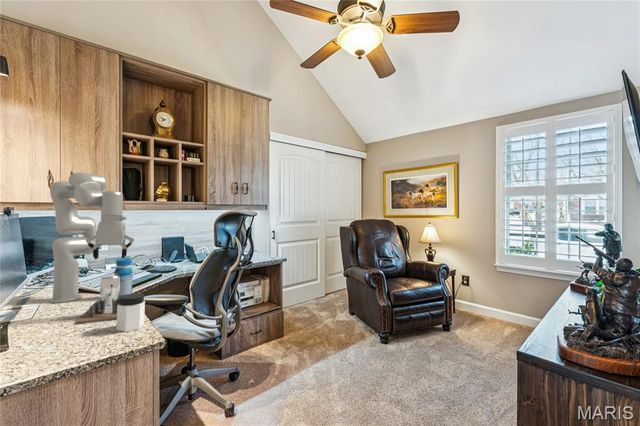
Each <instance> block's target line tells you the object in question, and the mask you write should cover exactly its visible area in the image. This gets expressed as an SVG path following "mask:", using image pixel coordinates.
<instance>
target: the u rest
mask: <svg viewBox="0 0 640 426" xmlns="http://www.w3.org/2000/svg"><path fill="white" fill-rule="evenodd" d="M118 300H119V299H118ZM118 300H117V305H119V302H118ZM101 308H102V300H101V299H98V300H96V301H95V302H93V304H92V305H91V306H89V308H88V309H87V310H86V312H84V313H83V314H82V315H81V316H80V317H79V318H78V319H76V321H75V322H74V323H75V325H81V324H89V323H101V322H108V321H117V312H115V313H111V314H101Z"/></svg>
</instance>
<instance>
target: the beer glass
mask: <svg viewBox="0 0 640 426" xmlns="http://www.w3.org/2000/svg"><path fill="white" fill-rule="evenodd" d="M99 286H100V287H99V293H100V298H101V299H100V300H102V308H101V314H111V313H115V312H117V300H118V295H119V291H120V276H115V275H108V276H102V277H101V278H100V285H99Z"/></svg>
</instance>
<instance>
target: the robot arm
mask: <svg viewBox="0 0 640 426" xmlns="http://www.w3.org/2000/svg"><path fill="white" fill-rule="evenodd" d="M106 187H107V180H106V179H105V177H104V176H102V175H100V174H96V173H88V172H74V173H72V174H70V175H69V177H68V181H65V180H63V181H62V180H61V181H55V182H53V183H52V184H51V185H50V191H49V193H50V194H49V195H50V199H51V202H52V203H53V206H54V209H55V211H54V213H55V229H56V233H58V234H59V235H63V236H64V235H67V237H66V236H65V237H60V238H56V239H55V240H54V241H53V242H52V248H51V249H52V254H53V281H52V282H53V283H52V284H53V285H52V297H51V298H48V302H47V303H51V304H60V303H61V304H62V303H69V302H75V301H78V300H81V299H82V297H83V296H82V294H79V277H80V263H79V262H78V260H77V259H76V258H75V256H83V255H84V256H85V255H92V257H93V258H94V260H97V259H99V251H100V249H99V247H100V246H120V247H121V248H122V249H121V259H126V257H127V254H128V252H127V250H128V248H129V247H130V246H132V245H133V243H134V242H135V239H134V238H133V237H130V236H128V235H126V227H125V226H126V224H125V222H124V221H125V220H127V217H126V216H123V204H124V203H123V202H124V193H123V192H121V191H118V190H105V189H106ZM71 199H74V200H75V201H76V202H77V203H78V204H79V205H80V206H82V207H86V208H99V209H100V221H99V222H98V224H97V225H96V222H95V220H94V218H93V217H90V216H79V215H78V206H77V205H76V204H75V202H73V201H72V200H71ZM96 227H97V228H96ZM68 235H69V236H68ZM71 235H82V236H71ZM126 240H128V243H127V244H126Z"/></svg>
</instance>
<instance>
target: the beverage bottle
mask: <svg viewBox="0 0 640 426" xmlns="http://www.w3.org/2000/svg"><path fill="white" fill-rule="evenodd" d="M132 262H133V260H132V258H119V259H116V260H115V265H116V268H115V269H114V272H113V274H114V276H120V291H119V295H118V299H119V297H120V296H123V295H127V294H133V279H134V275H133V273H134V270H133V267H132V264H133V263H132Z"/></svg>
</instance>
